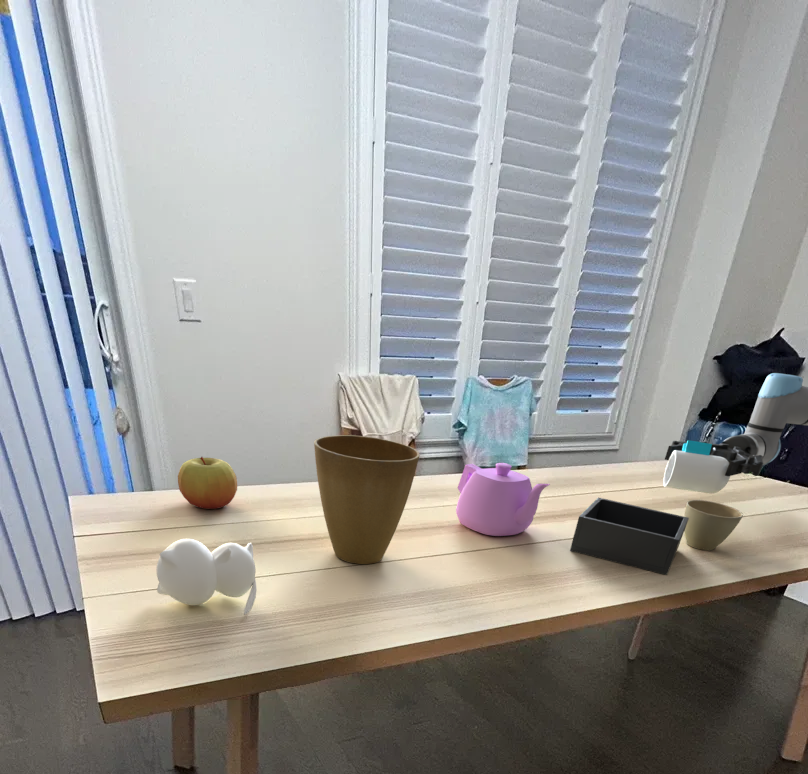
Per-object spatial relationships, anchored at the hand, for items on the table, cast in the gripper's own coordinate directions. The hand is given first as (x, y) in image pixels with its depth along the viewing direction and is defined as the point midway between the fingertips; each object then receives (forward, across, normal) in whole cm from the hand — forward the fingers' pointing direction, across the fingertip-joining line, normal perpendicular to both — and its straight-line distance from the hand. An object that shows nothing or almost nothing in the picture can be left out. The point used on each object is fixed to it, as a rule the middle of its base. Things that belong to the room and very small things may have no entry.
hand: (697, 460), depth 129 cm
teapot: (+44, +15, -12) cm, 48 cm away
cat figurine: (+103, +12, -12) cm, 105 cm away
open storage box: (+31, -5, -12) cm, 33 cm away
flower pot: (+14, -11, -12) cm, 21 cm away
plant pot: (+76, +16, -12) cm, 78 cm away
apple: (+84, +47, -12) cm, 97 cm away
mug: (-3, 0, -6) cm, 7 cm away
